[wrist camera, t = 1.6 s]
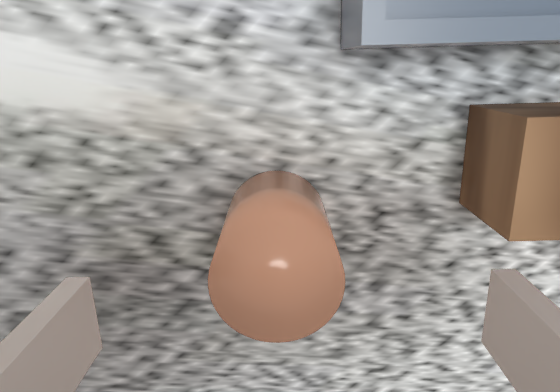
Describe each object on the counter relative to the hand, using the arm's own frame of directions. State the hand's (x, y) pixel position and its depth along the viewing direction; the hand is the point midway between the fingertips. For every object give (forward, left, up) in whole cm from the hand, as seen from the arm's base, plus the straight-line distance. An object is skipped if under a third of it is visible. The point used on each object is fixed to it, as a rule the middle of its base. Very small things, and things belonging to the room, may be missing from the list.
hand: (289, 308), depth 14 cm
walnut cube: (+12, +3, -9) cm, 15 cm away
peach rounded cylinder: (0, 0, -9) cm, 9 cm away
